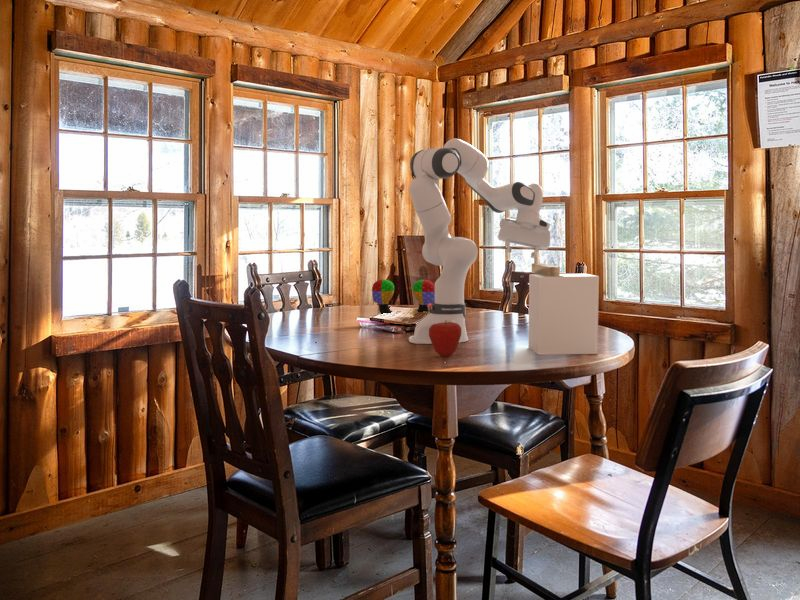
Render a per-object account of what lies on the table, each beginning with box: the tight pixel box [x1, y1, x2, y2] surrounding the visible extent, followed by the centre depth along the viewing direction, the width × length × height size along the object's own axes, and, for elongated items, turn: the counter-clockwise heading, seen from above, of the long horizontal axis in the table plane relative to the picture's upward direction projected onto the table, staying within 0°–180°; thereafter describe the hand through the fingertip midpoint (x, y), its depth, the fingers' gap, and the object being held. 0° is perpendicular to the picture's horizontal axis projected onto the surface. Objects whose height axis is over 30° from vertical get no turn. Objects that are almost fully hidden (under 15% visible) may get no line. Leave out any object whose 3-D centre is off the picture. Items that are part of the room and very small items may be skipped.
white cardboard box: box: [528, 273, 600, 356], centre depth 235 cm, size 20×14×26 cm
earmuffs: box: [371, 278, 435, 315], centre depth 302 cm, size 28×9×20 cm, turn 78°
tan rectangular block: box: [531, 262, 561, 276], centre depth 238 cm, size 4×24×3 cm, turn 3°
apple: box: [429, 321, 461, 358], centre depth 228 cm, size 11×11×12 cm
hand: (520, 254), depth 267 cm, fingers open, 8 cm apart
